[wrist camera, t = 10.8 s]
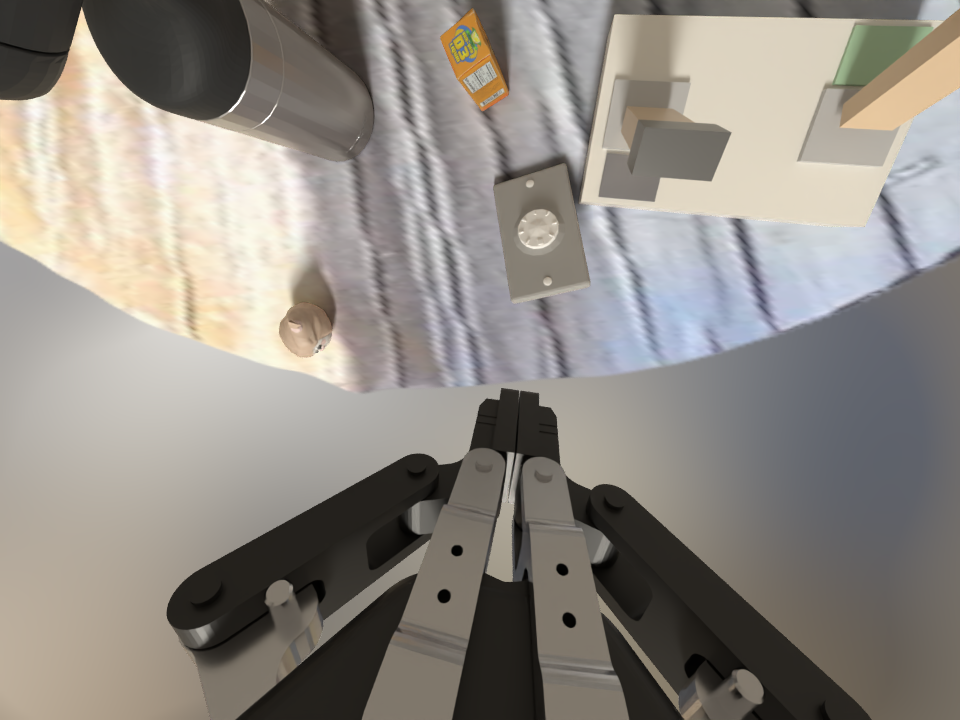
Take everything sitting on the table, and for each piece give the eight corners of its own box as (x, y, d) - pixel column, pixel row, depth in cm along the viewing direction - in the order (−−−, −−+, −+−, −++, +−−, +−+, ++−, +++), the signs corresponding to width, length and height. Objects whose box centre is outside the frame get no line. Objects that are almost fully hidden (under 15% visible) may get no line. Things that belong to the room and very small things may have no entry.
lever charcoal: (668, 138, 31) (711, 181, 21) (614, 135, 31) (631, 175, 21) (679, 104, 29) (731, 132, 19) (623, 101, 30) (645, 127, 20)
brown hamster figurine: (349, 339, 49) (313, 359, 41) (313, 353, 51) (272, 375, 43) (326, 293, 47) (284, 305, 40) (289, 310, 49) (242, 324, 42)
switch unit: (831, 226, 35) (869, 226, 31) (578, 203, 38) (581, 201, 34) (907, 46, 30) (965, 17, 26) (607, 38, 33) (615, 11, 29)
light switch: (565, 155, 36) (590, 280, 33) (568, 188, 41) (590, 298, 38) (490, 179, 38) (509, 299, 35) (502, 207, 43) (519, 313, 40)
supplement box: (466, 81, 36) (436, 31, 27) (496, 60, 35) (476, 1, 26) (480, 115, 37) (456, 78, 28) (510, 96, 36) (496, 51, 27)
